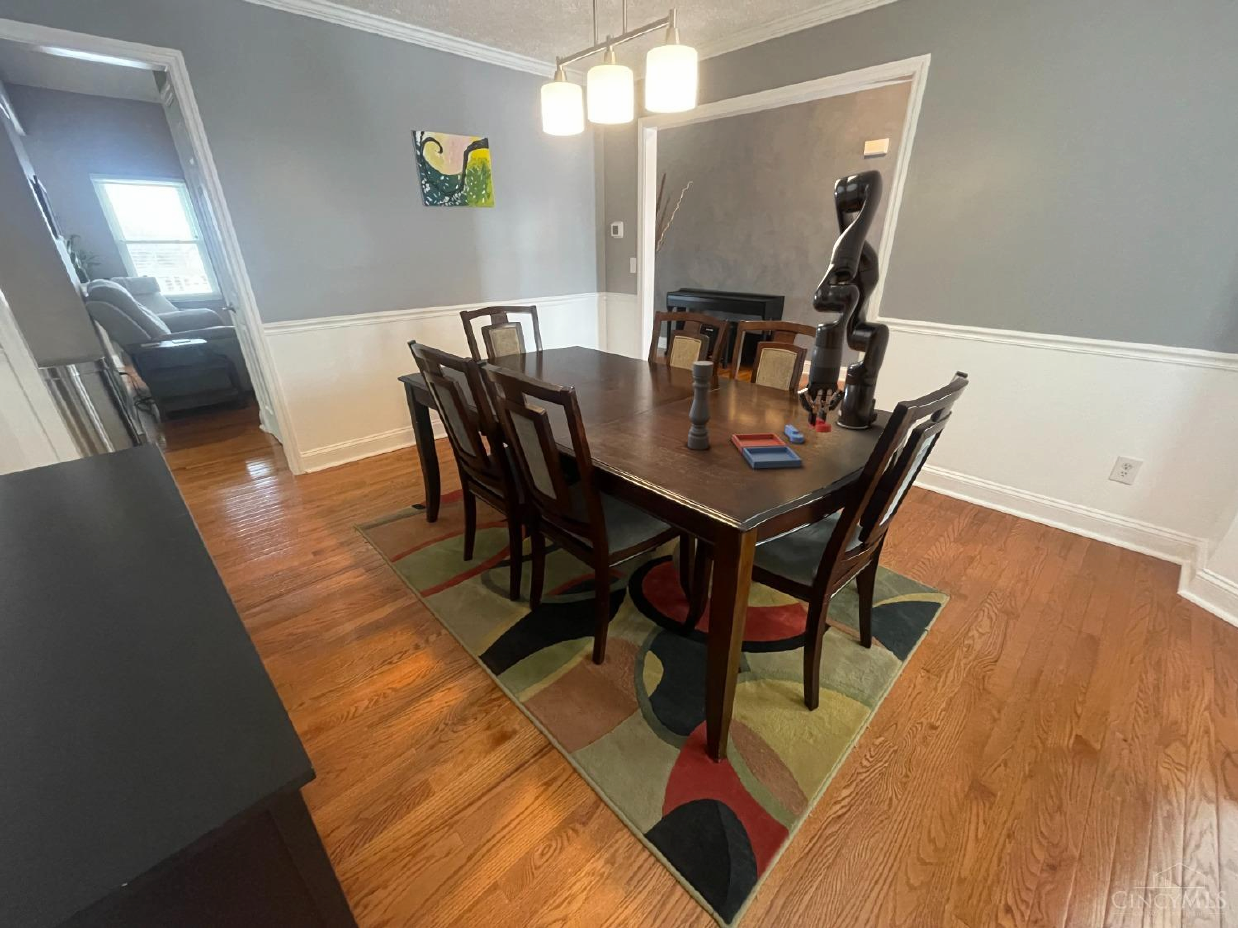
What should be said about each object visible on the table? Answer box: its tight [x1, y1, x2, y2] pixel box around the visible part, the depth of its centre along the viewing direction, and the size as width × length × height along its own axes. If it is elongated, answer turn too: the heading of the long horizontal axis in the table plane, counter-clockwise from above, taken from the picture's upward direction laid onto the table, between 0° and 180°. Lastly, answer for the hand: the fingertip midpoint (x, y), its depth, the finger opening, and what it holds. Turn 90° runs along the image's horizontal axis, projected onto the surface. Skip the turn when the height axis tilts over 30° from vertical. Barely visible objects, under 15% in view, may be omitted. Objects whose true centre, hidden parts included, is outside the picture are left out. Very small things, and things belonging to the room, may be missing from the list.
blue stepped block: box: [784, 424, 805, 444], centre depth 153 cm, size 9×4×3 cm, turn 4°
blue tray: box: [741, 445, 803, 469], centre depth 137 cm, size 13×10×2 cm
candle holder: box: [687, 360, 714, 451], centre depth 143 cm, size 6×6×25 cm
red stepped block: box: [807, 417, 832, 434], centre depth 136 cm, size 9×4×3 cm, turn 4°
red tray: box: [731, 432, 788, 454], centre depth 147 cm, size 13×10×2 cm
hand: (816, 424), depth 137 cm, fingers closed on red stepped block, 2 cm apart
